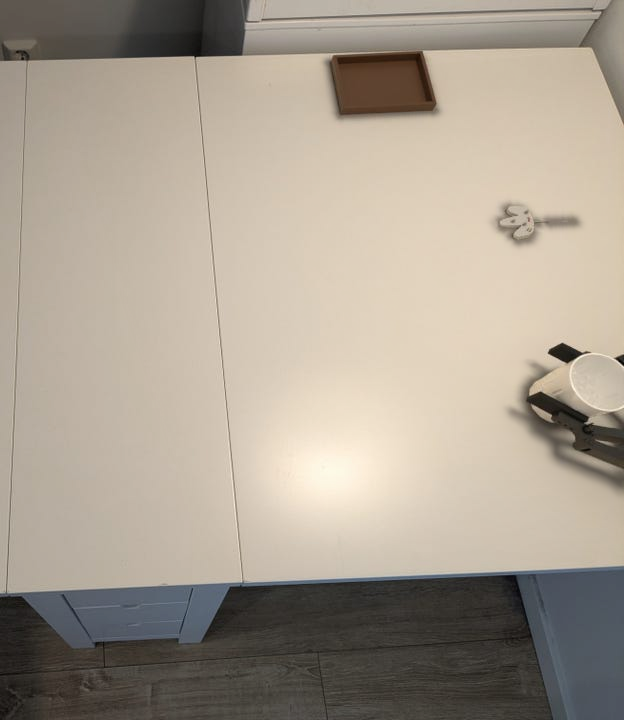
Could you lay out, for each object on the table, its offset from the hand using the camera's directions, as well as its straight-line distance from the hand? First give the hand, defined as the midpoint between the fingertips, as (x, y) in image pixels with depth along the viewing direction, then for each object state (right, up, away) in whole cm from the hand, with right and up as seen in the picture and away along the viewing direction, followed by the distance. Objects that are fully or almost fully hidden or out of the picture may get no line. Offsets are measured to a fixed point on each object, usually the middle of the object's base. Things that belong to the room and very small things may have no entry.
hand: (544, 371), depth 76 cm
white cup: (+4, -4, +5) cm, 8 cm away
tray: (-12, +51, +25) cm, 58 cm away
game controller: (+9, +23, +15) cm, 29 cm away
